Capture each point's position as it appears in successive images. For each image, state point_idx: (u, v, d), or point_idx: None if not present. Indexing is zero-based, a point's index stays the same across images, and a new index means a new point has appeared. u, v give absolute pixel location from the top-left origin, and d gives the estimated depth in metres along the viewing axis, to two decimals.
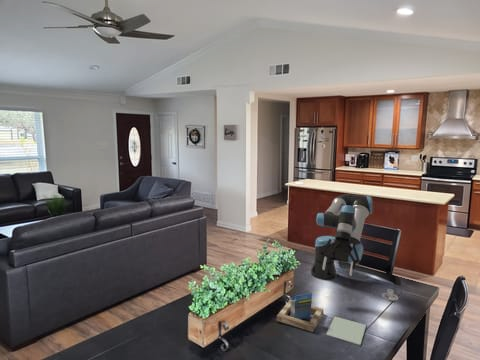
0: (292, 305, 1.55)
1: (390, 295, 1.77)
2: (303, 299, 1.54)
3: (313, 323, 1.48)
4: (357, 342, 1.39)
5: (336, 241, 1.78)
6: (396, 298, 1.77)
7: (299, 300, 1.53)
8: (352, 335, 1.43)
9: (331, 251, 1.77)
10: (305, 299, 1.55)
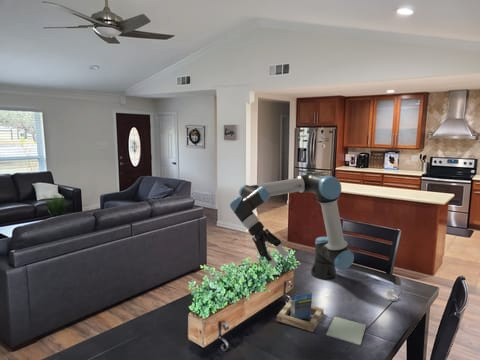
0: (292, 305, 1.55)
1: (390, 295, 1.77)
2: (303, 299, 1.54)
3: (313, 323, 1.48)
4: (357, 342, 1.39)
5: None
6: (396, 298, 1.77)
7: (299, 300, 1.53)
8: (352, 335, 1.43)
9: (271, 241, 1.65)
10: (305, 299, 1.55)
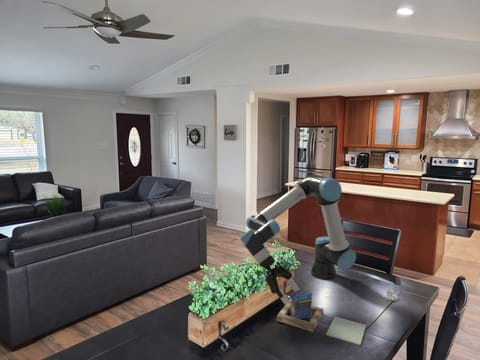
0: (292, 305, 1.55)
1: (389, 295, 1.77)
2: (303, 299, 1.54)
3: (313, 323, 1.48)
4: (357, 342, 1.39)
5: None
6: (396, 298, 1.77)
7: (299, 300, 1.53)
8: (352, 335, 1.43)
9: (282, 275, 1.63)
10: (305, 299, 1.55)
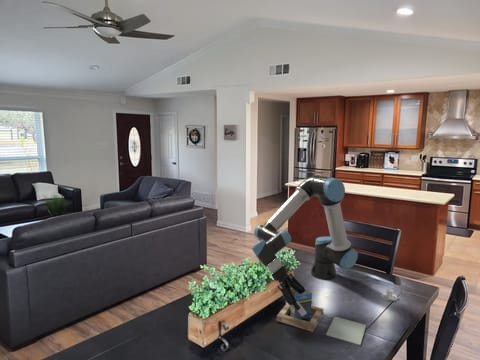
0: (292, 305, 1.55)
1: (389, 295, 1.77)
2: (303, 299, 1.54)
3: (313, 323, 1.48)
4: (357, 342, 1.39)
5: None
6: (395, 298, 1.77)
7: (299, 300, 1.53)
8: (352, 335, 1.43)
9: (294, 287, 1.61)
10: (305, 299, 1.55)
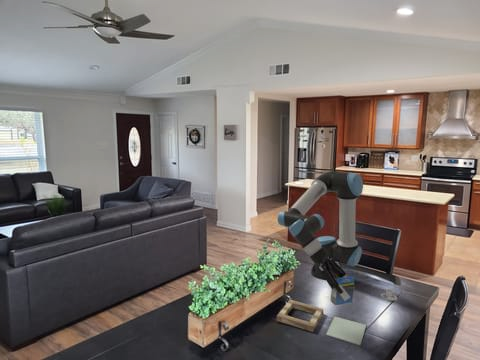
0: (333, 289, 1.44)
1: (389, 295, 1.77)
2: (345, 282, 1.43)
3: (313, 323, 1.48)
4: (357, 342, 1.39)
5: None
6: (395, 298, 1.77)
7: (341, 283, 1.42)
8: (352, 335, 1.43)
9: (334, 270, 1.49)
10: (347, 282, 1.43)
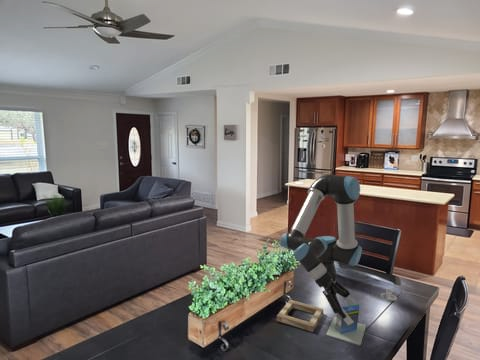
0: (338, 317, 1.45)
1: (389, 295, 1.77)
2: (350, 311, 1.44)
3: (313, 323, 1.48)
4: (357, 342, 1.39)
5: None
6: (395, 298, 1.77)
7: (346, 312, 1.43)
8: (352, 335, 1.43)
9: (339, 292, 1.51)
10: (352, 311, 1.44)
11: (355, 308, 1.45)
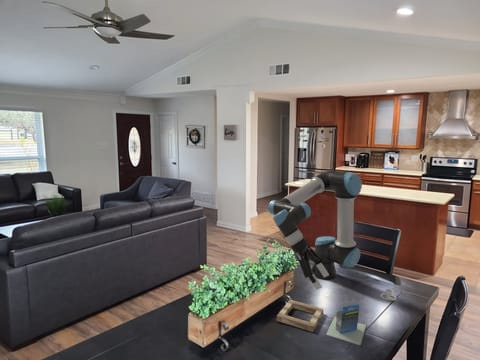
0: (338, 317, 1.45)
1: (388, 295, 1.77)
2: (350, 311, 1.44)
3: (313, 323, 1.48)
4: (357, 342, 1.39)
5: None
6: (394, 298, 1.77)
7: (346, 312, 1.43)
8: (352, 335, 1.43)
9: (312, 259, 1.57)
10: (352, 311, 1.44)
11: (355, 308, 1.45)
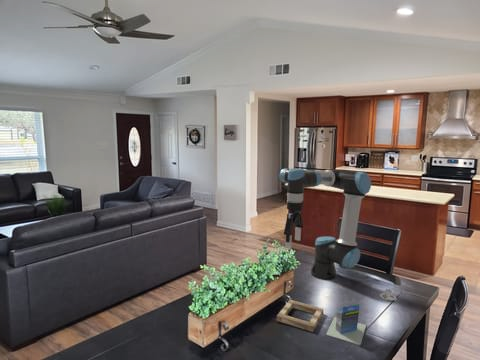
0: (338, 317, 1.45)
1: (388, 295, 1.77)
2: (350, 311, 1.44)
3: (313, 323, 1.48)
4: (357, 342, 1.39)
5: None
6: (394, 298, 1.77)
7: (346, 312, 1.43)
8: (352, 335, 1.43)
9: (296, 221, 1.66)
10: (352, 311, 1.44)
11: (355, 308, 1.45)
